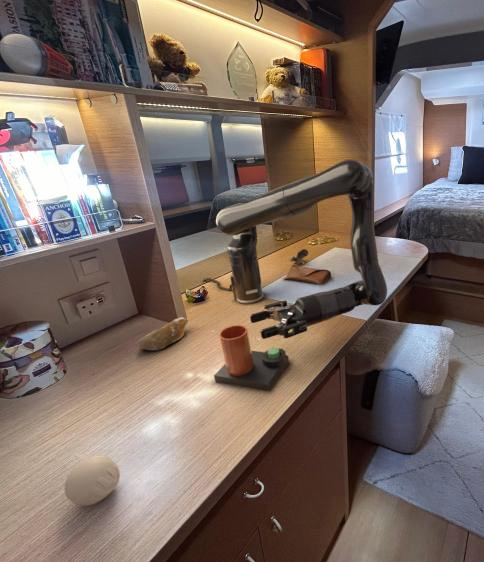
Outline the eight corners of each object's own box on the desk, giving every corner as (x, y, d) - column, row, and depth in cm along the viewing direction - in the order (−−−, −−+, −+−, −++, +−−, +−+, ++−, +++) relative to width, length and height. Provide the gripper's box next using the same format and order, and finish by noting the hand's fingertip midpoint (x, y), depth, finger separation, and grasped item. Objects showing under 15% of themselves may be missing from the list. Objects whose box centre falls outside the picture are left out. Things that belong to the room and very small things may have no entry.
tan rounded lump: (103, 518, 52) (88, 489, 49) (63, 511, 53) (46, 482, 50) (135, 477, 58) (123, 449, 55) (98, 472, 59) (85, 444, 57)
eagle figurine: (309, 265, 146) (312, 255, 153) (298, 253, 143) (302, 243, 150) (296, 273, 149) (299, 263, 156) (285, 262, 146) (289, 252, 153)
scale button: (266, 358, 82) (265, 353, 82) (271, 352, 85) (270, 346, 84) (276, 360, 82) (275, 354, 81) (281, 353, 84) (280, 348, 84)
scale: (215, 382, 80) (212, 369, 79) (241, 354, 90) (238, 342, 89) (270, 391, 76) (268, 378, 75) (290, 361, 86) (289, 349, 85)
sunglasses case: (281, 279, 135) (285, 262, 135) (290, 281, 141) (293, 266, 142) (322, 285, 128) (325, 267, 129) (329, 287, 134) (332, 270, 135)
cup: (221, 373, 80) (213, 337, 76) (236, 358, 85) (229, 323, 81) (245, 377, 78) (238, 341, 74) (258, 361, 84) (252, 326, 80)
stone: (129, 332, 90) (178, 305, 101) (133, 349, 94) (180, 321, 105) (146, 345, 88) (195, 316, 99) (150, 361, 91) (196, 332, 102)
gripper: (304, 285, 92) (245, 301, 84) (329, 305, 80) (262, 325, 73) (306, 310, 95) (249, 327, 87) (331, 332, 83) (267, 354, 76)
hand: (255, 326), depth 80 cm, fingers open, 8 cm apart
